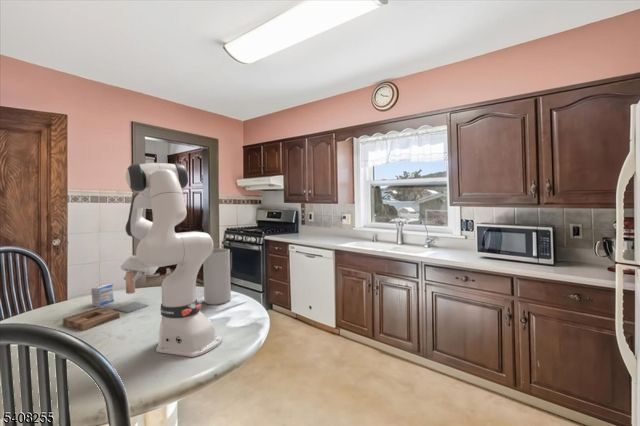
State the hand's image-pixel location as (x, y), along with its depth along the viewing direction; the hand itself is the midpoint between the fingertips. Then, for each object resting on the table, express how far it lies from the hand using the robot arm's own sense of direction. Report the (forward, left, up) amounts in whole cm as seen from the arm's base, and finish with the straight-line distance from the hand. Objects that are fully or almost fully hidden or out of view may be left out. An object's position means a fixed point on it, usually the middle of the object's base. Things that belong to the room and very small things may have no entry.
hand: (128, 280), depth 145 cm
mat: (0, -1, -13) cm, 13 cm away
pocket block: (0, +16, -13) cm, 21 cm away
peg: (0, -1, -6) cm, 6 cm away
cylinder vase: (-30, -25, -13) cm, 41 cm away
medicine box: (+18, +1, -13) cm, 22 cm away
